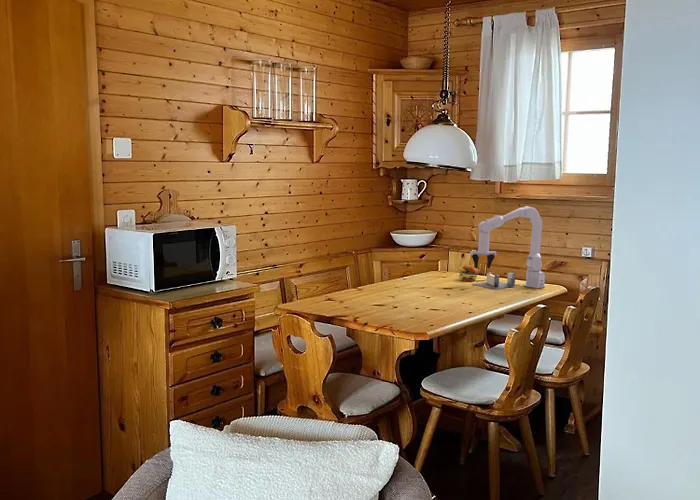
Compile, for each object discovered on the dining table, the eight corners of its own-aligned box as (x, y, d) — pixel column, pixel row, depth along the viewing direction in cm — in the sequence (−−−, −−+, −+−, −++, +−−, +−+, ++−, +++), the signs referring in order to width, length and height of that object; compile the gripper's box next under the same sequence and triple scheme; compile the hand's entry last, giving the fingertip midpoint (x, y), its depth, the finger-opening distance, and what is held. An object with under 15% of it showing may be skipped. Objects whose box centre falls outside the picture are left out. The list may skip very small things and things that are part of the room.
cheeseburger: (453, 279, 399) (458, 262, 398) (468, 282, 403) (473, 265, 403) (464, 281, 390) (468, 264, 389) (479, 285, 394) (483, 268, 394)
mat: (517, 286, 383) (517, 285, 383) (496, 289, 370) (496, 288, 370) (493, 281, 395) (493, 280, 395) (472, 285, 382) (472, 283, 382)
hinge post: (499, 287, 375) (500, 275, 374) (496, 287, 373) (497, 275, 372) (495, 286, 377) (496, 274, 376) (493, 286, 375) (493, 275, 374)
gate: (496, 285, 377) (497, 274, 376) (493, 285, 376) (494, 274, 375) (489, 282, 386) (490, 271, 386) (486, 282, 386) (486, 271, 385)
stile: (517, 285, 382) (518, 273, 381) (510, 286, 378) (511, 274, 377) (510, 283, 386) (510, 272, 385) (503, 285, 382) (504, 273, 381)
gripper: (493, 242, 385) (491, 267, 386) (468, 242, 382) (467, 267, 383) (498, 244, 378) (497, 269, 380) (473, 244, 375) (471, 269, 377)
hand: (482, 268), depth 381 cm, fingers open, 6 cm apart
